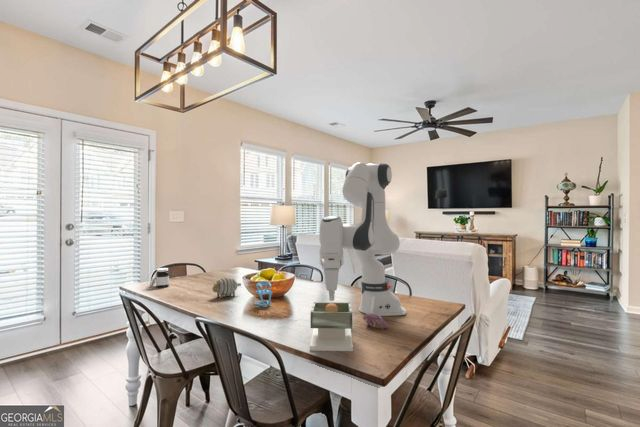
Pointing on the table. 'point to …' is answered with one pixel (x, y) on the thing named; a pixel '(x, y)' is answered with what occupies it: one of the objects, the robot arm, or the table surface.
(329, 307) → the ball
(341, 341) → the white stand
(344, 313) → the green open box
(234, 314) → the table surface
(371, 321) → the purple grapes
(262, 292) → the light blue lumpy piece
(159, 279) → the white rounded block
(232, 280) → the toy sheep
